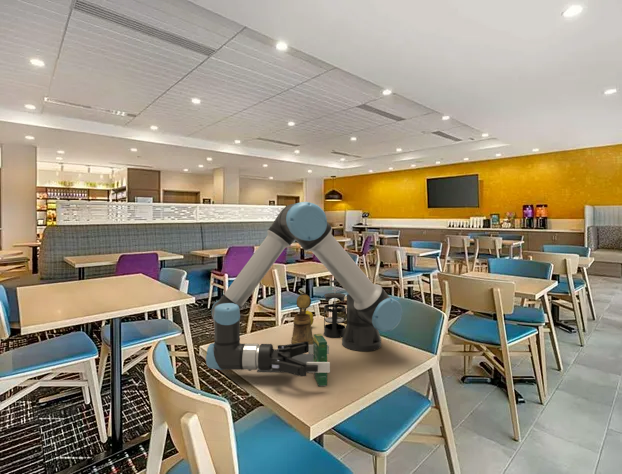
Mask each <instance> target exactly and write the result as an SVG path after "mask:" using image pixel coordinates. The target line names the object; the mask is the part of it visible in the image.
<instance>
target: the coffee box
mask: <svg viewBox="0 0 622 474" xmlns="http://www.w3.org/2000/svg"><path fill="white" fill-rule="evenodd" d="M312 337H313V350H314V362H328V354H327V345H328V341H327V340H326V338H325V336H324V335H323V334H322V333H315V334H312ZM313 376H314V379H315V382H316V384H317V385H318V387H327V386H328V373H318V372H314V373H313Z"/></svg>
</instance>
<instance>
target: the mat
mask: <svg viewBox="0 0 622 474" xmlns="http://www.w3.org/2000/svg"><path fill="white" fill-rule="evenodd" d="M292 358H293V359H295V360H298V361H300V362H303V363H306V365H307V362H314V354H309V353H304V354H300V355H297V356H294V357H292ZM256 372H257V373H282V372H281V371H273V370H272V369H271V370H260V369H259V368H258V369H257V370H256ZM307 373H308V374H309V373H311V374H314V372H306V374H307Z"/></svg>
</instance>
